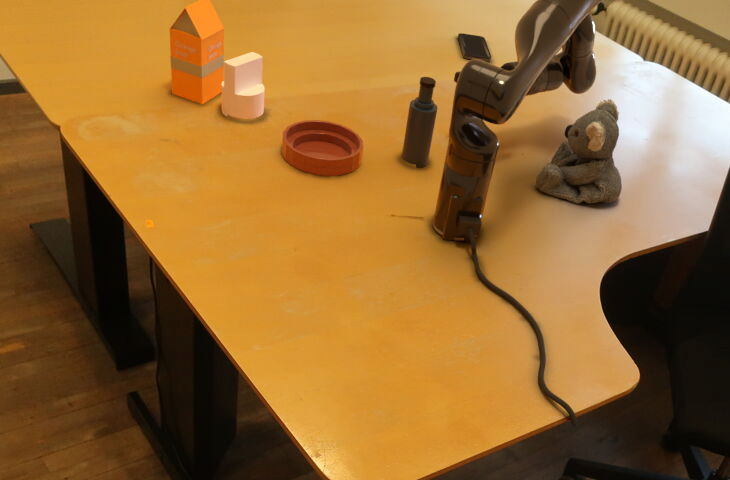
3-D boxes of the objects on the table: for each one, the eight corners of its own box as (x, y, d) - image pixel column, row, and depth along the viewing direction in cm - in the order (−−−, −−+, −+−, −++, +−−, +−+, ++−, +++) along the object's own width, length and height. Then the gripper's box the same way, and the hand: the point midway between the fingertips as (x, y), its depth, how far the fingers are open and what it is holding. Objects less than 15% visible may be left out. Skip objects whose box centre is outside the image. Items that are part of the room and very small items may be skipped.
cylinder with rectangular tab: (241, 98, 188) (242, 46, 180) (272, 113, 185) (274, 61, 177) (212, 109, 182) (212, 56, 174) (244, 125, 179) (245, 72, 171)
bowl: (362, 183, 171) (364, 163, 168) (280, 175, 167) (281, 155, 164) (358, 143, 183) (361, 124, 180) (282, 135, 179) (283, 116, 176)
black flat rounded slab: (484, 36, 240) (491, 58, 230) (483, 40, 241) (491, 62, 230) (457, 32, 239) (464, 54, 228) (456, 36, 239) (463, 58, 229)
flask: (428, 169, 180) (443, 88, 168) (402, 166, 179) (415, 84, 167) (426, 155, 184) (440, 75, 172) (400, 152, 183) (412, 72, 171)
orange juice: (171, 93, 184) (167, 1, 170) (194, 80, 190) (192, -10, 177) (202, 104, 182) (201, 13, 169) (224, 90, 189) (224, 1, 176)
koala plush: (553, 160, 194) (576, 80, 181) (625, 187, 191) (654, 107, 178) (530, 191, 181) (553, 108, 168) (607, 220, 178) (637, 137, 165)
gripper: (507, 48, 188) (450, 55, 178) (548, 76, 180) (491, 84, 171) (499, 80, 192) (444, 88, 183) (539, 108, 185) (484, 118, 176)
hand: (467, 86), depth 177 cm, fingers open, 8 cm apart
